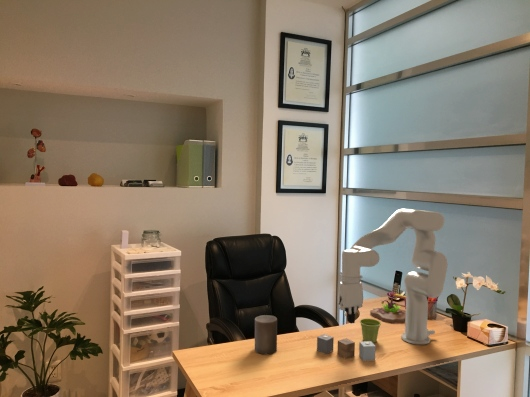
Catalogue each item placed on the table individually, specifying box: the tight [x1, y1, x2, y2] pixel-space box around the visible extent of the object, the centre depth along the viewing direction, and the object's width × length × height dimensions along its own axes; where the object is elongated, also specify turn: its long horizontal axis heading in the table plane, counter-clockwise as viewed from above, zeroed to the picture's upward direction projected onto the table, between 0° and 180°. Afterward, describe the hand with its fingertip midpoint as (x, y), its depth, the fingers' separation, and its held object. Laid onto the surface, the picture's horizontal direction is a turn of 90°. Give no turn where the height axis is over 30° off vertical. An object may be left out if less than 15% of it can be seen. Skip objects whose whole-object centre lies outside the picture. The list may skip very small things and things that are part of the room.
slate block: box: [358, 340, 376, 362], centre depth 172 cm, size 5×5×6 cm
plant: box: [369, 295, 406, 324], centre depth 224 cm, size 20×20×11 cm
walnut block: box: [336, 337, 356, 360], centre depth 174 cm, size 5×5×6 cm
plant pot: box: [359, 318, 382, 344], centre depth 190 cm, size 9×9×9 cm
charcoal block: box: [316, 333, 334, 355], centre depth 178 cm, size 5×5×6 cm
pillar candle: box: [254, 314, 278, 355], centre depth 178 cm, size 10×10×15 cm
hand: (350, 322), depth 175 cm, fingers closed
